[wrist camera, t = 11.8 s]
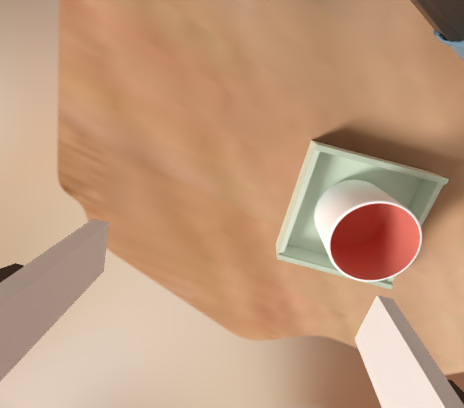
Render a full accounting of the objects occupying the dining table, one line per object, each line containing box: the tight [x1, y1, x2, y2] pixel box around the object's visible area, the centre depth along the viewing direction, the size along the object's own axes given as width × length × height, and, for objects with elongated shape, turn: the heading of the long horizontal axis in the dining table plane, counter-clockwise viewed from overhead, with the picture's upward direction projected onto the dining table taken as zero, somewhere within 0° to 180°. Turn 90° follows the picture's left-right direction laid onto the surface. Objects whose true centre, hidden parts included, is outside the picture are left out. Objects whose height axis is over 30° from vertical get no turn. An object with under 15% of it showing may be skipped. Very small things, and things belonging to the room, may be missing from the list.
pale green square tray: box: [276, 140, 449, 289], centre depth 40 cm, size 16×16×4 cm
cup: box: [314, 180, 422, 282], centre depth 36 cm, size 10×10×10 cm
